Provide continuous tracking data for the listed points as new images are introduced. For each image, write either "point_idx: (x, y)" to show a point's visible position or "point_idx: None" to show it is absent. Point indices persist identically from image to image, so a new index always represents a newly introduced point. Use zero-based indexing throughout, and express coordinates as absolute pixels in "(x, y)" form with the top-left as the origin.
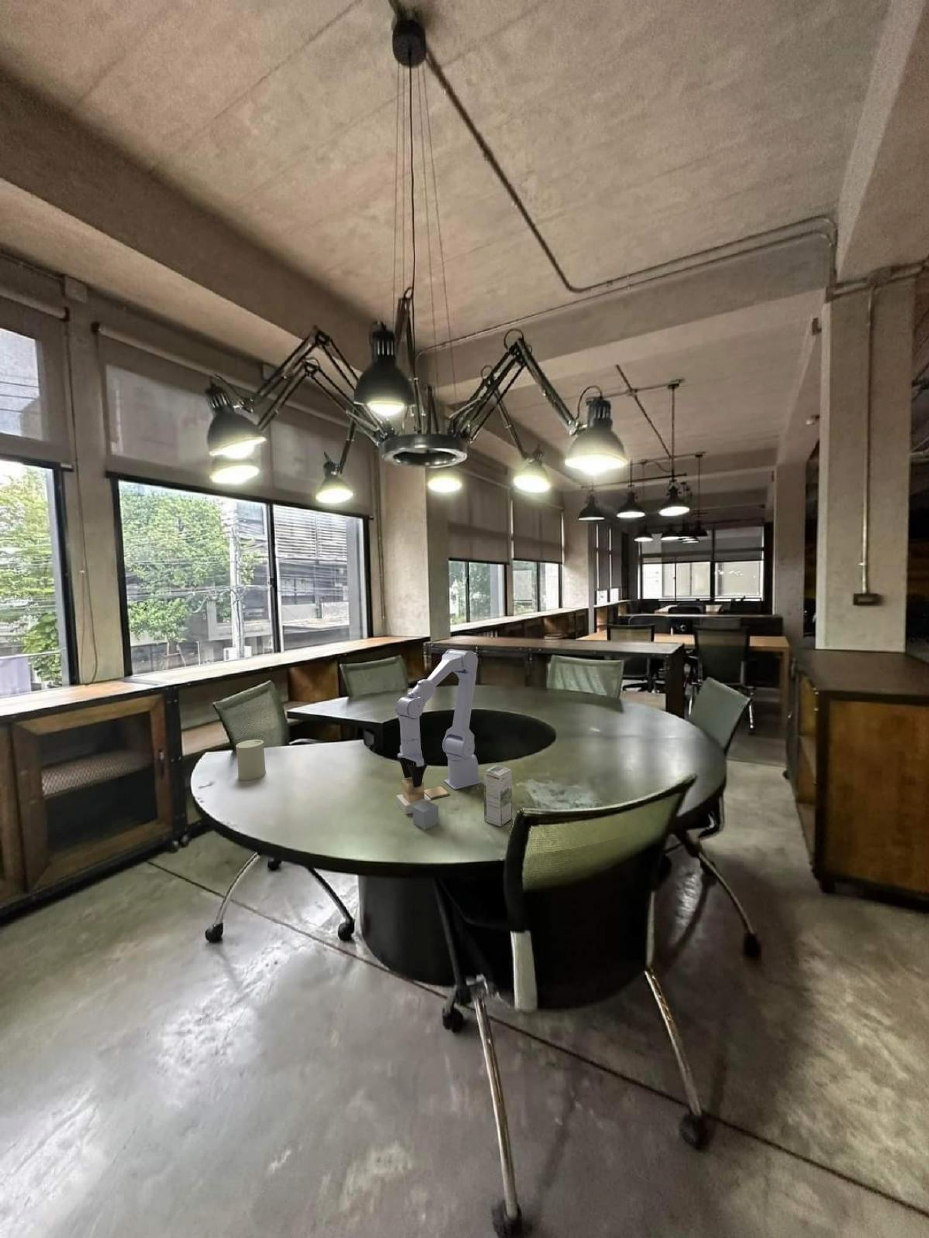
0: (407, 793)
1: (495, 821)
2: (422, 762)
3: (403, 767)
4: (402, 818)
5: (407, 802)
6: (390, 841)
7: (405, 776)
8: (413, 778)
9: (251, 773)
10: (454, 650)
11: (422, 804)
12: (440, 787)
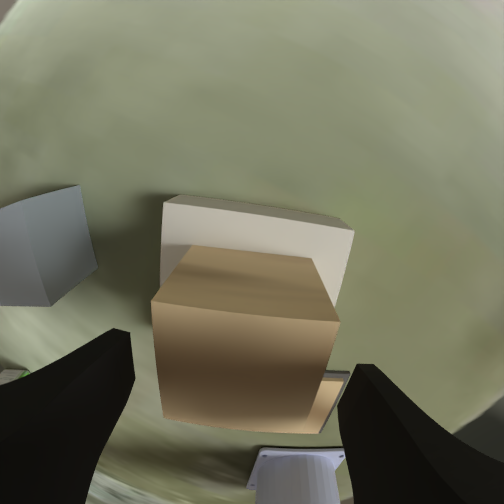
0: (197, 268)
1: (5, 374)
2: None
3: (404, 442)
4: (148, 158)
5: (200, 238)
6: (35, 58)
7: (360, 377)
8: (39, 370)
9: None
10: None
11: (21, 259)
12: (308, 430)
